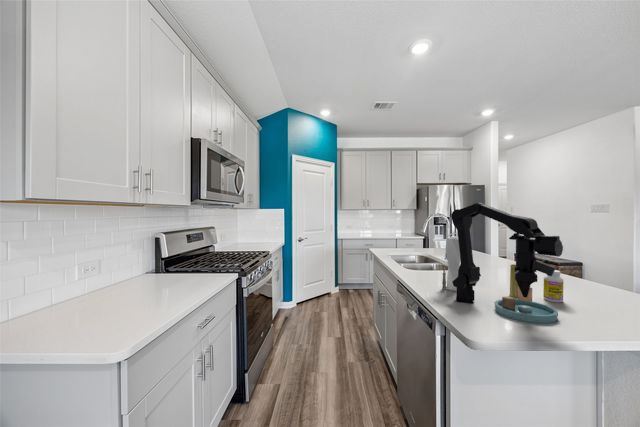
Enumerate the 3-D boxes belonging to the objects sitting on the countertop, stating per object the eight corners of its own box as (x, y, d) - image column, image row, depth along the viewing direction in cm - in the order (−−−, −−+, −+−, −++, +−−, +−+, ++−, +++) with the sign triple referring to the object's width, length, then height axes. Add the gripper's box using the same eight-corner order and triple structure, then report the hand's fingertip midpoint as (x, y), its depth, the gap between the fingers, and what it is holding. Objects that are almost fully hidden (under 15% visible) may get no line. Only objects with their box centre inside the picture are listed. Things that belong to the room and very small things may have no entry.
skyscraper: (448, 286, 151) (448, 232, 150) (465, 289, 145) (464, 233, 144) (441, 289, 145) (441, 233, 144) (458, 293, 139) (458, 234, 138)
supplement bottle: (546, 301, 124) (546, 271, 124) (541, 297, 130) (541, 268, 130) (566, 303, 121) (566, 272, 121) (559, 299, 127) (560, 269, 127)
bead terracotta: (518, 300, 105) (518, 288, 105) (518, 297, 109) (518, 285, 109) (532, 302, 103) (532, 289, 103) (531, 299, 106) (532, 287, 106)
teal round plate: (499, 318, 105) (499, 311, 105) (491, 302, 123) (491, 297, 123) (566, 326, 98) (566, 319, 98) (547, 308, 115) (547, 302, 115)
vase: (528, 299, 127) (528, 266, 127) (512, 298, 128) (512, 266, 128) (521, 295, 133) (521, 264, 133) (506, 294, 134) (506, 263, 134)
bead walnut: (500, 307, 114) (500, 296, 114) (512, 308, 113) (512, 296, 113) (504, 311, 110) (504, 299, 110) (517, 312, 109) (517, 300, 109)
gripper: (557, 258, 93) (556, 307, 94) (550, 251, 109) (550, 292, 109) (515, 255, 99) (515, 301, 100) (514, 249, 115) (514, 288, 115)
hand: (525, 295), depth 106 cm, fingers closed on bead terracotta, 4 cm apart
